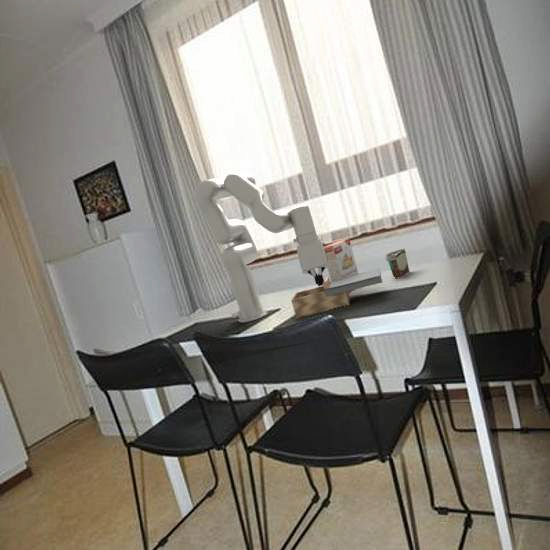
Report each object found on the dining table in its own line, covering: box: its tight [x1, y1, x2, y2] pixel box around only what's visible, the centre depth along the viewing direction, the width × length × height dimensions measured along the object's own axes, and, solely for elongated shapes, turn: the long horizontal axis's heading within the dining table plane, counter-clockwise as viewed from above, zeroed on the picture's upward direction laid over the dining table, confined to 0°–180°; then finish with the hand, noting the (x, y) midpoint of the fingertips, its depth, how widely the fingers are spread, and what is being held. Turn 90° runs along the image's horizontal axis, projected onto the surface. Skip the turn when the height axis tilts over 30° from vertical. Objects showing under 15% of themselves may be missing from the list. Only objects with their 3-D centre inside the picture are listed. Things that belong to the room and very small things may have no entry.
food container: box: [385, 248, 410, 279], centre depth 193 cm, size 12×6×10 cm, turn 144°
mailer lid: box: [322, 268, 383, 296], centre depth 173 cm, size 21×15×5 cm
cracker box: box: [323, 238, 359, 294], centre depth 192 cm, size 14×6×21 cm, turn 143°
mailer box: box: [290, 285, 351, 319], centre depth 176 cm, size 20×13×7 cm, turn 79°
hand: (320, 285), depth 175 cm, fingers closed
